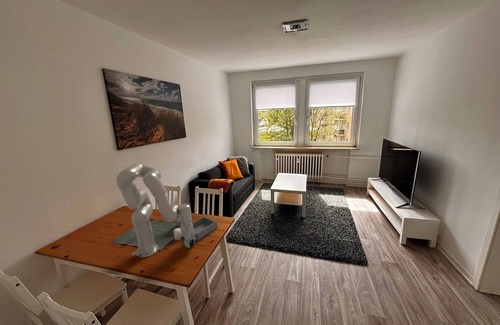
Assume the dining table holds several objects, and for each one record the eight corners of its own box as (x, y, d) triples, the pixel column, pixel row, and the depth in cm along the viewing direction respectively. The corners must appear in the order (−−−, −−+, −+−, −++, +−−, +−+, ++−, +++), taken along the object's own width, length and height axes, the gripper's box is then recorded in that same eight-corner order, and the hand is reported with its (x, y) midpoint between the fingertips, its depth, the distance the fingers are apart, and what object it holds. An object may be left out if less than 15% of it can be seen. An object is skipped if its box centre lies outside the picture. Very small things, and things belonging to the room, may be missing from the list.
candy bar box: (176, 227, 162) (173, 209, 157) (179, 223, 166) (176, 206, 162) (189, 227, 160) (187, 209, 156) (192, 223, 165) (189, 206, 161)
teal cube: (189, 248, 135) (188, 242, 134) (184, 245, 138) (183, 239, 137) (194, 244, 139) (194, 238, 138) (190, 241, 142) (189, 235, 141)
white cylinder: (177, 241, 144) (175, 232, 142) (173, 238, 146) (172, 230, 145) (183, 237, 147) (181, 229, 146) (179, 235, 150) (178, 227, 149)
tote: (197, 241, 142) (196, 234, 141) (184, 234, 151) (183, 227, 150) (217, 228, 157) (216, 221, 156) (204, 222, 166) (203, 216, 165)
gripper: (174, 220, 136) (178, 243, 141) (189, 228, 126) (192, 252, 131) (183, 215, 142) (187, 237, 146) (198, 222, 132) (201, 246, 136)
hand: (189, 244), depth 138 cm, fingers closed on teal cube, 5 cm apart
